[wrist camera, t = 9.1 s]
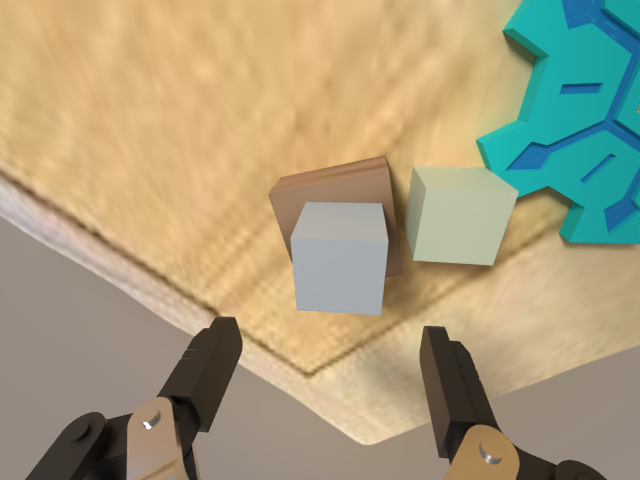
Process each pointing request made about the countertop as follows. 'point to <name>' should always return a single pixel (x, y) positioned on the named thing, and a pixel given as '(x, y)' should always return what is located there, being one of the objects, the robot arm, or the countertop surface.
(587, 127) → the decorative ornament
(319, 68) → the countertop surface
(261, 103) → the countertop surface
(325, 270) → the slate cube
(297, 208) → the walnut base
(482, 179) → the sage block
